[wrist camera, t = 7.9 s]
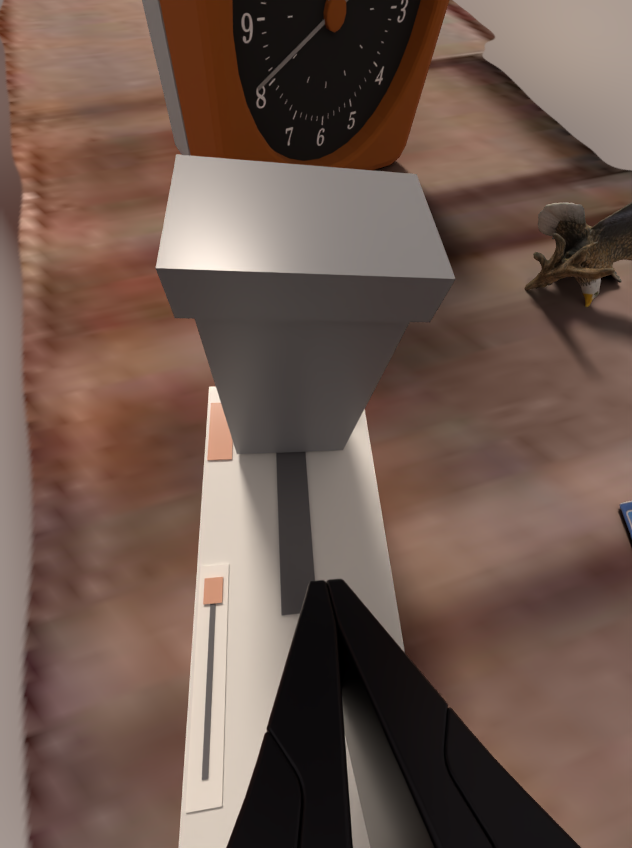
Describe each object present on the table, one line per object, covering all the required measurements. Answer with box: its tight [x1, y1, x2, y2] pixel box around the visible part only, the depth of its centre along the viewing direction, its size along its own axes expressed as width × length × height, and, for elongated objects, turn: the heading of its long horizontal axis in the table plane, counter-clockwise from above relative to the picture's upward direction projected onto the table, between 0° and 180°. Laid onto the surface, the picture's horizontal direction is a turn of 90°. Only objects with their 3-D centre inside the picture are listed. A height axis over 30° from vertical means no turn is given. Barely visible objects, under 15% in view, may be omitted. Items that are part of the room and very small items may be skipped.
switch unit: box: [179, 387, 405, 848], centre depth 13 cm, size 18×8×3 cm, turn 5°
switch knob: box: [156, 154, 455, 454], centre depth 11 cm, size 4×6×10 cm, turn 95°
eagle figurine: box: [525, 202, 632, 307], centre depth 23 cm, size 8×8×10 cm
